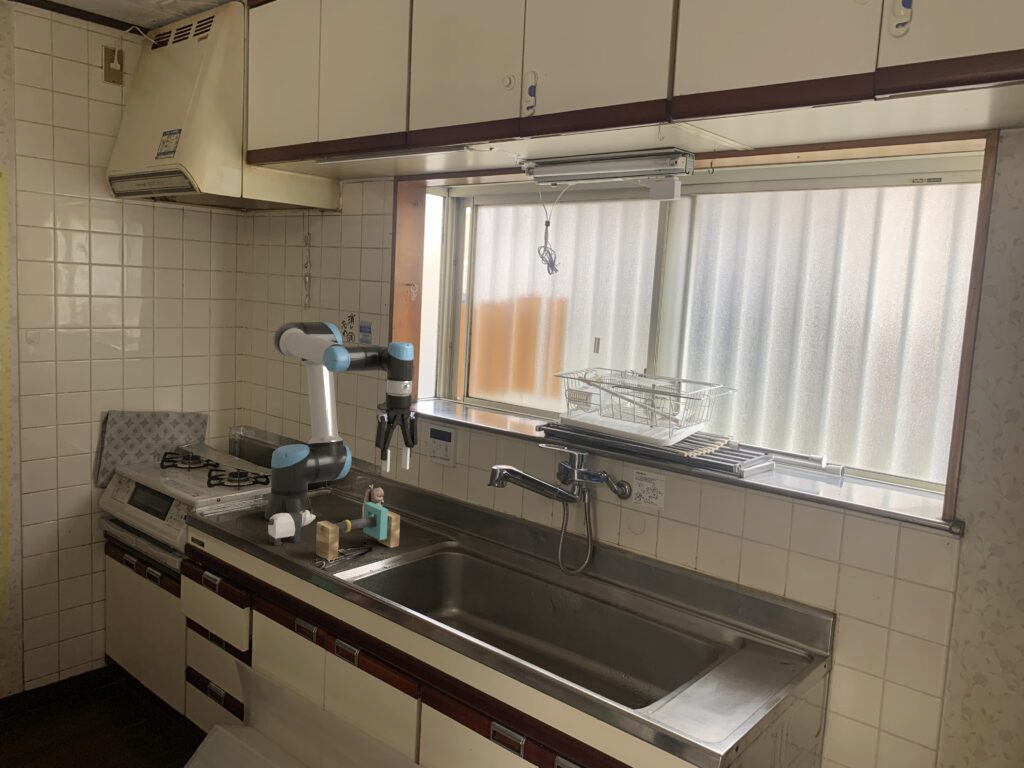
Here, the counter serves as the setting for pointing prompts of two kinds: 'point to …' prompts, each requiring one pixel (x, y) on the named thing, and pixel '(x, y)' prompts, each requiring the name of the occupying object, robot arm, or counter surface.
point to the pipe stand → (330, 532)
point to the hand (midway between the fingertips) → (395, 469)
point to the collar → (382, 515)
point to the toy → (373, 497)
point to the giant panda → (288, 525)
